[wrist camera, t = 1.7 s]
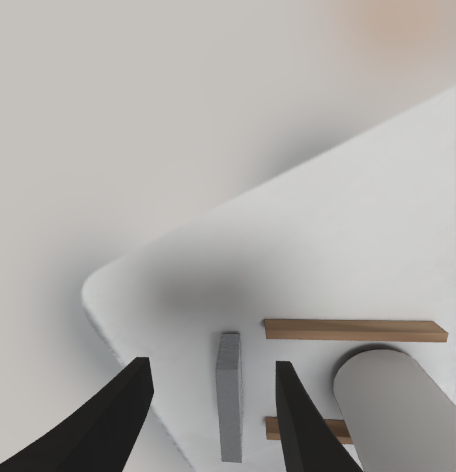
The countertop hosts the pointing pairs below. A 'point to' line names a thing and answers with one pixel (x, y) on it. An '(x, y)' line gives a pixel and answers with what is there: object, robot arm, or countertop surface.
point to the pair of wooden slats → (351, 332)
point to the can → (396, 414)
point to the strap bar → (230, 397)
